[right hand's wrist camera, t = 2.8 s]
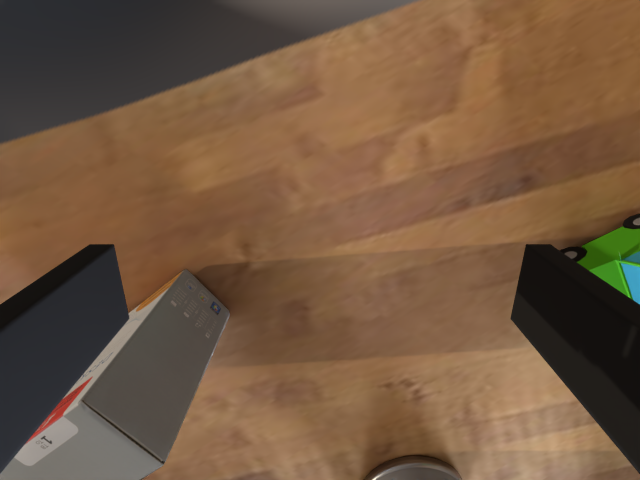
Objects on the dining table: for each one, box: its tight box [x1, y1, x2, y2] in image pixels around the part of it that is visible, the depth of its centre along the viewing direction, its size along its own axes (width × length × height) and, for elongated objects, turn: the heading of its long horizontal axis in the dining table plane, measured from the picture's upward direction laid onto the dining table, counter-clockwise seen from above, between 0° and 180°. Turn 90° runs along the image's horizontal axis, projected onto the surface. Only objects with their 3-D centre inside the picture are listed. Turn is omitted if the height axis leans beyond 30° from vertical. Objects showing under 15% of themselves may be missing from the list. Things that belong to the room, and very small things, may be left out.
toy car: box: [561, 214, 640, 304], centre depth 38 cm, size 10×13×10 cm
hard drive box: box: [0, 269, 230, 480], centre depth 36 cm, size 16×8×20 cm, turn 128°
